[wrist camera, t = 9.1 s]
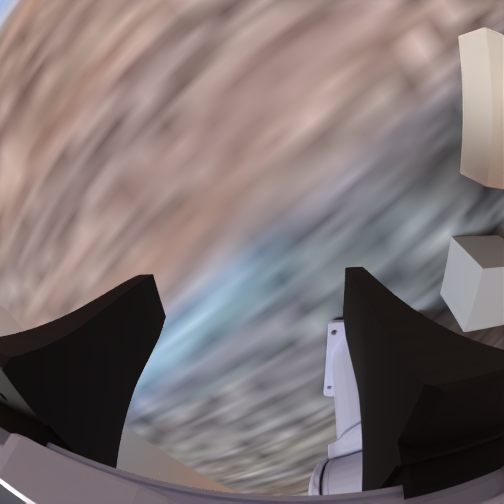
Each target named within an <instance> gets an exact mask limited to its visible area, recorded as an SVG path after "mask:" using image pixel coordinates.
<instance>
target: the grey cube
mask: <svg viewBox="0 0 504 504" xmlns="http://www.w3.org/2000/svg"><path fill="white" fill-rule="evenodd" d="M440 294H441V296H442V297H443V299H444V301H445V302H446V304H447V305H448V307H449V308H450V310H451V312H452V313H453V315H454V317H455V318H456V320H457V321H458V323H459V325H460V327H461V328H462V330H463V332H468V331H474V330H480V329H485V328H490V327H495V326H500V325H504V239H503V238H502V237H500V236H499V235H488V236H457V237H451V242H450V248H449V254H448V259H447V265H446V270H445V275H444V280H443V284H442V289H441V293H440Z"/></svg>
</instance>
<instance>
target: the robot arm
mask: <svg viewBox="0 0 504 504" xmlns="http://www.w3.org/2000/svg"><path fill="white" fill-rule="evenodd" d="M165 318H166V316H165V313H164V310H163V306H162V303H161V300H160V297H159V293H158V290H157V287H156V283H155V280H154V276H153V274H148V275H138V276H135V277H133V278H131V279H129V280H127V281H126V282H124V283H122V284H120V285H119V286H117V287H115V288H114V289H112V290H110V291H109V292H107V293H105V294H104V295H102V296H100V297H99V298H97V299H95V300H93V301H91V302H90V303H88V304H86V305H84V306H83V307H81V308H79V309H77V310H75V311H73V312H71V313H69V314H67V315H65V316H63V317H61V318H59V319H56V320H54V321H52V322H49V323H46V324H44V325H41V326H38V327H36V328H33V329H30V330H26V331H23V332H19V333H16V334H12V335H7V336H2V337H0V484H2V485H3V486H4V487H6V488H7V489H8V490H9V491H11V492H12V493H14V494H15V495H16V496H18V497H19V498H21V499H22V500H23V501H25V502H26V504H504V350H503V349H499V348H495V347H492V346H488V345H485V344H482V343H479V342H477V341H474V340H471V339H469V338H466V337H464V336H461V335H459V334H457V333H455V332H453V331H451V330H449V329H447V328H445V327H443V326H441V325H439V324H437V323H435V322H433V321H432V320H430V319H428V318H427V317H425V316H424V315H422V314H420V313H419V312H417V311H416V310H414V309H413V308H411V307H410V306H409V305H407V304H406V303H405V302H403V301H402V300H401V299H399V298H398V297H397V296H396V295H394V294H393V293H392V292H391V291H389V290H388V289H387V288H386V287H385V286H384V285H383V284H381V283H380V282H379V281H378V280H377V279H376V278H375V277H374V276H372V275H371V274H370V273H369V272H368V271H367V270H366V269H364V268H363V267H348V268H346V269H345V290H344V306H343V320H332V321H330V322H329V324H328V337H327V354H326V368H325V381H324V395H325V396H334V399H335V413H336V429H337V441H336V442H334V443H331V444H329V445H328V458H326V459H323V460H321V461H320V462H319V463H318V464H317V466H316V467H315V469H314V472H313V474H312V477H311V479H310V483H309V493H308V494H309V496H273V495H253V494H240V493H230V492H221V491H214V490H207V489H200V488H194V487H188V486H183V485H178V484H173V483H168V482H164V481H159V480H155V479H151V478H147V477H143V476H140V475H136V474H132V473H129V472H126V471H122V470H119V469H116V466H117V457H118V451H119V445H120V440H121V435H122V430H123V426H124V422H125V418H126V415H127V411H128V407H129V404H130V401H131V398H132V395H133V392H134V389H135V387H136V384H137V382H138V380H139V377H140V375H141V373H142V371H143V369H144V367H145V365H146V363H147V361H148V359H149V357H150V355H151V353H152V351H153V349H154V347H155V345H156V343H157V341H158V339H159V336H160V334H161V331H162V328H163V324H164V321H165ZM333 330H337V331H335V332H332V331H333Z"/></svg>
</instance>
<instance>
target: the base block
mask: <svg viewBox="0 0 504 504" xmlns="http://www.w3.org/2000/svg"><path fill="white" fill-rule="evenodd" d="M458 38H459V47H460V57H461V69H462V88H463V132H462V152H461V165H460V174H462V175H464V176H466V177H468V178H470V179H473V180H475V181H477V182H478V183H480V184H482V185H484V186H486V187H492V188H499V189H504V35H502V34H500V33H498V32H495V31H493V30H491V29H488V28H486V27H484V28H481V29H478V30H475V31H472V32H469V33H466V34H463V35H460V36H458Z"/></svg>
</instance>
